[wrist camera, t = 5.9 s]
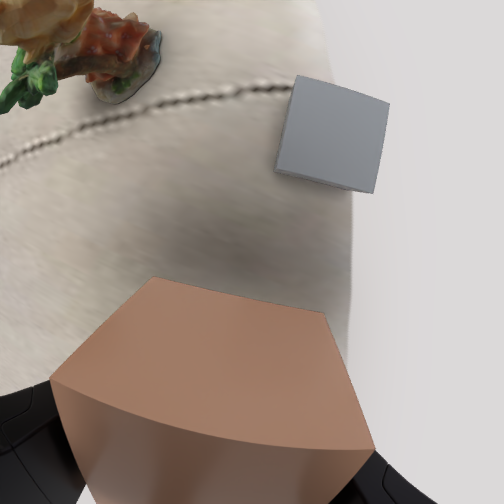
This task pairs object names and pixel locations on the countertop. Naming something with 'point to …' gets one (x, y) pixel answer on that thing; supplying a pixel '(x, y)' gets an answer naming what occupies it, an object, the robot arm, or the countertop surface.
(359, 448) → the terracotta cube
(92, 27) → the figurine
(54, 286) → the countertop surface
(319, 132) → the slate cube
